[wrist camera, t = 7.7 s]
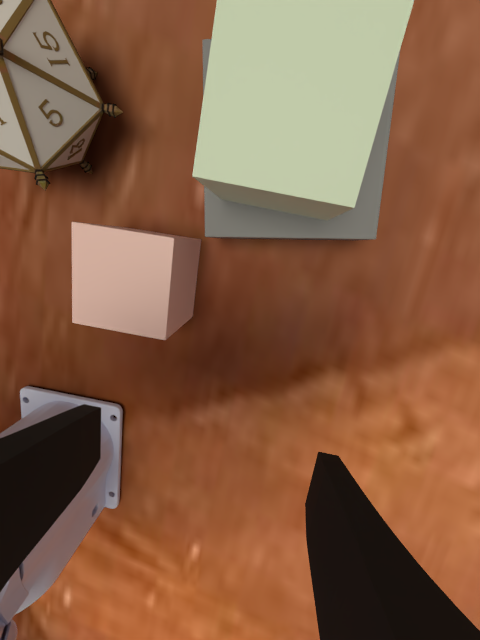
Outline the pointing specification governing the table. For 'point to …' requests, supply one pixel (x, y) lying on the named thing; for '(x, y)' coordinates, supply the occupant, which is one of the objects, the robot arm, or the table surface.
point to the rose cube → (133, 279)
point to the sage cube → (296, 100)
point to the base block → (273, 224)
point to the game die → (44, 93)
